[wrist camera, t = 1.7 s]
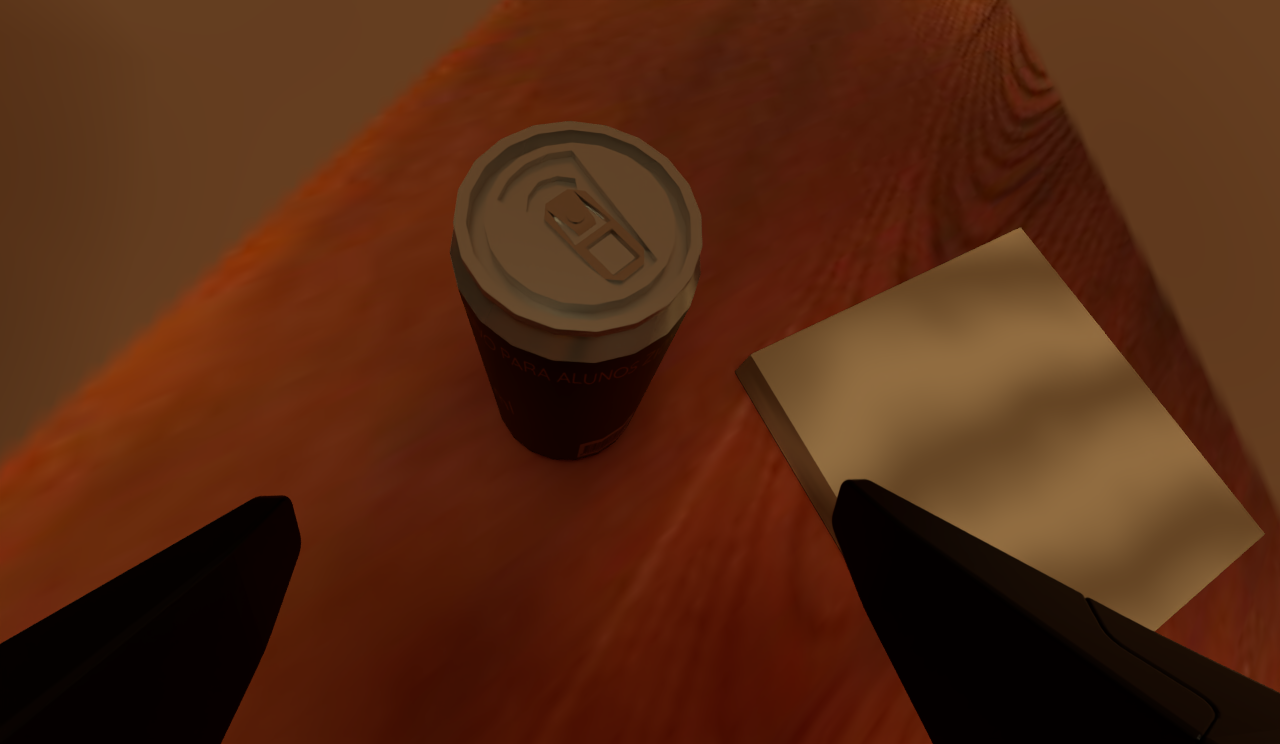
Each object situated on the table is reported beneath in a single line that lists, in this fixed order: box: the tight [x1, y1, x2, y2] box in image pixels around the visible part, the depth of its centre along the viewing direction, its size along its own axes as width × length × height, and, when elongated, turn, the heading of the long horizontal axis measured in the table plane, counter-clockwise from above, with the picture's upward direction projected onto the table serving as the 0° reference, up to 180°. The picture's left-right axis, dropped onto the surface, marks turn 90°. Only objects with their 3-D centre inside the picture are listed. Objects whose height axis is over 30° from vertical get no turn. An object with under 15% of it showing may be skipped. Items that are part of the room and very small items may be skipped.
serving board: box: [735, 227, 1264, 631], centre depth 23 cm, size 16×16×2 cm
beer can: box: [450, 121, 702, 460], centre depth 16 cm, size 5×5×12 cm
